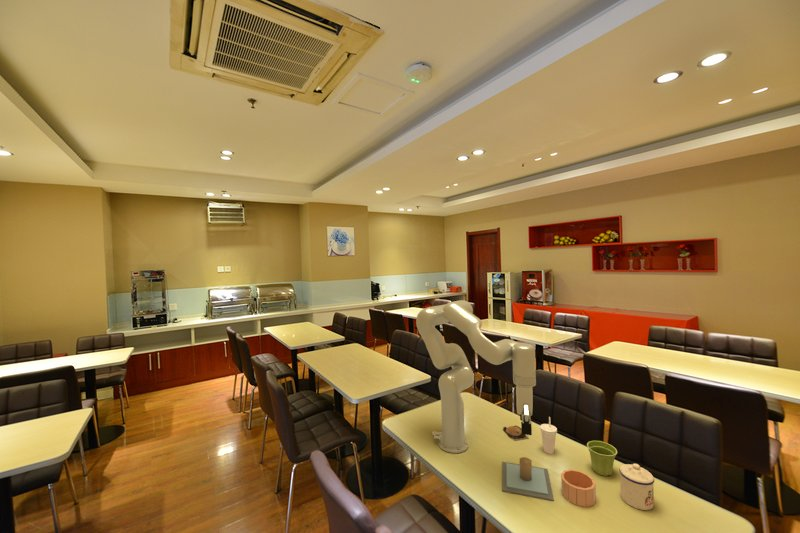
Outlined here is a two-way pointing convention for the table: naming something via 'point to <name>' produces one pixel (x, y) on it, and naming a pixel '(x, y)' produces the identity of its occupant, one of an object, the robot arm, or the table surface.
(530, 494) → the mat
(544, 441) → the smoothie
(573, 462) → the table surface
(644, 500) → the teacup with lid
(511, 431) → the bread roll
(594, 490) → the bowl
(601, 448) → the plant pot
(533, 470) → the cover sheet
